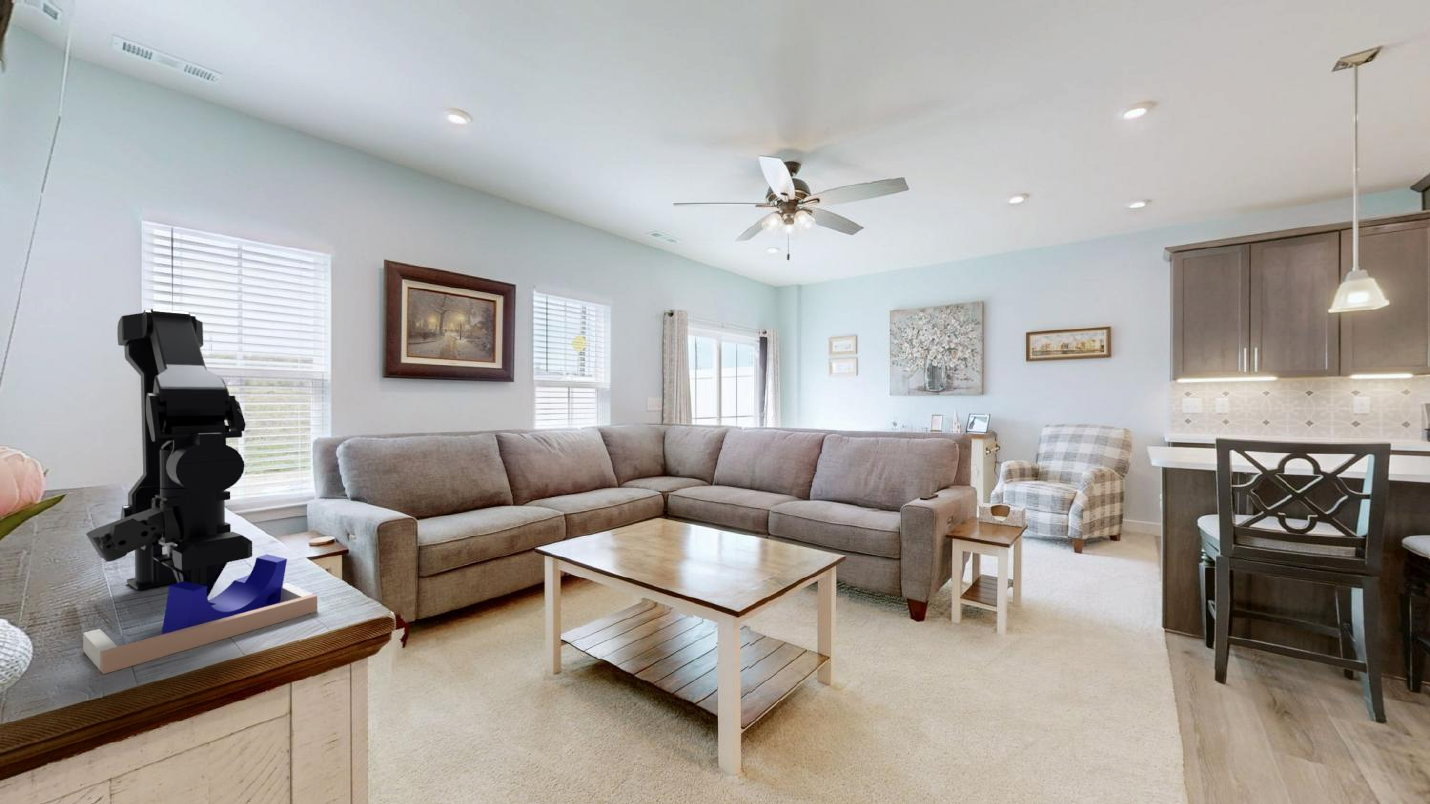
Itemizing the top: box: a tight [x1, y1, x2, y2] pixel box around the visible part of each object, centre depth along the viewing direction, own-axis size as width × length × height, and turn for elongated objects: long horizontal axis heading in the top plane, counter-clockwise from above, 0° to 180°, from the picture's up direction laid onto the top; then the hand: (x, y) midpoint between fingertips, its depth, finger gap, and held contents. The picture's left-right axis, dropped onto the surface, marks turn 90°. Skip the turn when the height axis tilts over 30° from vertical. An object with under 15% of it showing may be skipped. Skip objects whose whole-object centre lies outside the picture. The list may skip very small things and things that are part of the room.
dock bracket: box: [82, 582, 318, 675], centre depth 64 cm, size 9×18×2 cm, turn 148°
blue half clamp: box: [161, 554, 288, 635], centre depth 66 cm, size 12×4×6 cm, turn 175°
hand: (194, 610), depth 66 cm, fingers closed
